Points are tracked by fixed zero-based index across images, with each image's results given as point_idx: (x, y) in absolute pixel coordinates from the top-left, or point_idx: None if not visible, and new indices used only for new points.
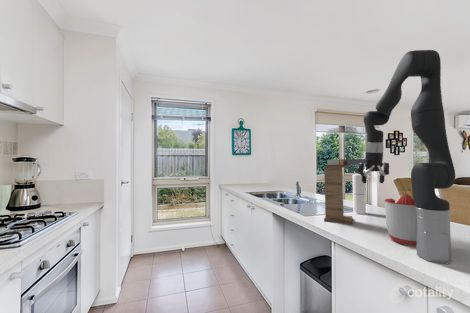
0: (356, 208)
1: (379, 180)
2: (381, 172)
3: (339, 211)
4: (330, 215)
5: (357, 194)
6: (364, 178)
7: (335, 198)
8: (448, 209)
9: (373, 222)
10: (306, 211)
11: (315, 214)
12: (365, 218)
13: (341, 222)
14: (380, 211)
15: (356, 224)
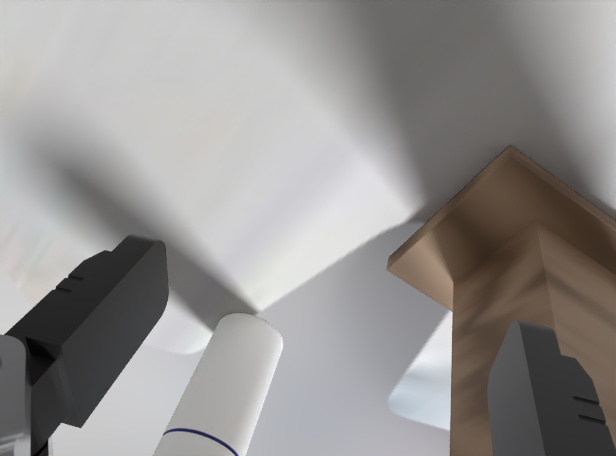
0: (267, 358)
1: (148, 329)
2: (10, 443)
3: (563, 275)
4: (610, 284)
5: (227, 443)
6: (575, 435)
7: (613, 392)
8: None
9: (303, 153)
10: None
11: None
12: (292, 242)
13: (570, 190)
14: None
15: (473, 135)
